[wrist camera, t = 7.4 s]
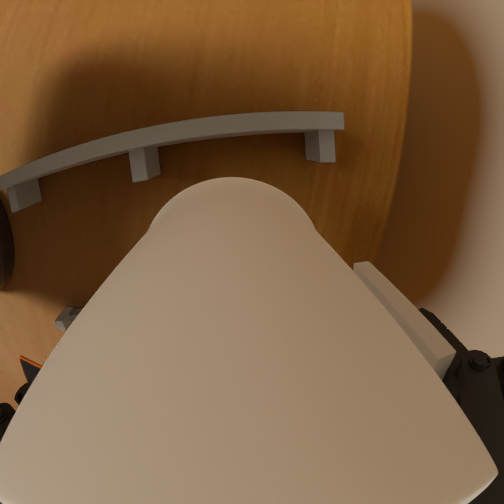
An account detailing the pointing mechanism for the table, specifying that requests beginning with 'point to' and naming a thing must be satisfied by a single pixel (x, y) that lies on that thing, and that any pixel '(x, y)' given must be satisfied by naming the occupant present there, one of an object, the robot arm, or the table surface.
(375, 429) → the mug
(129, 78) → the table surface
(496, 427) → the robot arm
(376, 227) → the table surface
